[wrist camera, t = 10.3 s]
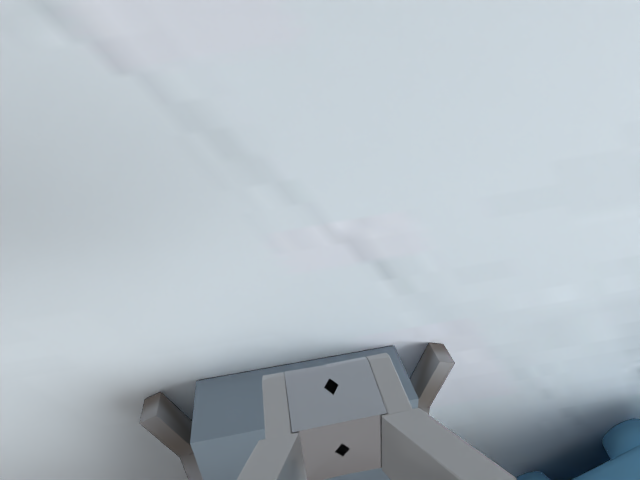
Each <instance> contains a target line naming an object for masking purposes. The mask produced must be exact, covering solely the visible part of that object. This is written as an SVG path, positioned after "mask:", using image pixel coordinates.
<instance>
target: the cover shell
mask: <svg viewBox="0 0 640 480" xmlns="http://www.w3.org/2000/svg"><path fill="white" fill-rule="evenodd" d="M382 353H387V354H388V355H389V356H390V358H391V360H392V363H393V365H394V367H395V370H396V372H397V374H398V376H399V379H400V381H401V383H402V386H403V388H404V390H405V393H406V395H407V397H408V399H409V402H410V404H411V406H412V409H415V408H418V400H419V398H418V396H417V394H416V392H415V390H414V388H413V385H412V383H411V381H410V379H409V377H408V375H407V372H406V370H405V368H404V366H403V364H402V362H401V359H400V357H399V355H398V353H397V351H396V349H395V346H389V347H384V348H378V349H373V350H367V351H361V352H356V353H350V354H345V355H339V356H333V357H328V358H322V359H316V360H311V361H305V362H300V363H294V364H288V365H283V366H277V367H272V368H266V369H260V370H255V371H249V372H244V373H238V374H232V375H227V376H221V377H215V378H210V379H204V380H199V381H196V390H195V400H194V409H193V419H192V429H191V439H190V445H191V447H192V450H193V453H194V456H195V459H196V461H197V464H198V467H199V470H200V472H201V475H202V478H203V480H237V478H238V476H239V475H240V473H241V471H242V469H243V467H244V466H245V464H246V462H247V460H248V459H249V457H250V455H251V453H252V452H253V450H254V448H255V446H256V445H257V443H258V441H259V440H263V439H265V424H264V408H263V391H262V377H263V375H269V374H275V373H281V372H284V374H285V371H291V370H298V369H304V368H310V367H316V366H322V365H325V364H330V363H335V362H340V361H345V360H350V359H355V358H360V357H366V356H372V355H377V354H382ZM325 480H391V479H390V478H389V477H388V476H387V475H386V474H385V473H384V472H383V471H382V468H378V469H372V470H367V471H362V472H356V473H351V474H346V475H345V474H344V475H341V476H337V477H333V478H329V479H325Z"/></svg>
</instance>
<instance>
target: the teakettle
mask: <svg viewBox="0 0 640 480" xmlns="http://www.w3.org/2000/svg"><path fill="white" fill-rule="evenodd" d="M602 444H603V446H604V448H605V450H606V452H607V454H608V455H609V457H610V459H611V460H609V461H607V462H605V463H603V464H601V465H599V466H597V467H595V468H593V469H591V470H590V471H588V472H586V473H584V474H582V475H580V476H578V477H576V478H574V479H572V480H640V419H630V420H627V421H624V422H622V423H619V424H618V425H616V426H614V427H613V428H612V429H610V430H609V431H608V432H607V433H606V434H605V436H604V437H603V440H602ZM516 479H517V480H550V479H549V478H548V477H547V476H546V475H545V474H544V473H542V472H538V471H534V472H529V473H525V474H523V475H520V476H518V477H517V478H516Z"/></svg>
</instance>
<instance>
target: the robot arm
mask: <svg viewBox="0 0 640 480" xmlns="http://www.w3.org/2000/svg"><path fill="white" fill-rule="evenodd" d="M262 391H263V408H264V424H265V439H263V440H259V441H258V443H257V445H256V446H255V448H254V450H253V452H252V453H251V455H250V457H249V459H248V460H247V462H246V464H245V466H244V467H243V469H242V471H241V473H240V475H239V476H238V478H237V480H325V479H329V478H333V477H337V476H341V475H344V474H345V475H346V474H351V473H356V472H362V471H367V470H372V469H378V468H382V471H383V472H384V473H385V474H386V475H387V476H388V477H389V478H390V479H391V480H517V479H516V477H514V476H513V475H511V474H510V473H509V472H507V471H506V470H505V469H503V468H502V467H500V466H499V465H498V464H496V463H495V462H493V461H492V460H491V459H489V458H488V457H486V456H485V455H484V454H482V453H481V452H480V451H478V450H477V449H475V448H474V447H473V446H471V445H470V444H468V443H467V442H466V441H464V440H463V439H461V438H460V437H459V436H457V435H456V434H455V433H453V432H452V431H450V430H449V429H448V428H446V427H445V426H443V425H442V424H441V423H439V422H438V421H436V420H435V419H434V418H432V417H431V416H430V415H428V414H427V413H425V412H424V411H423V410H421V409H420V408H415V409H412V406H411V404H410V402H409V399H408V397H407V395H406V393H405V390H404V388H403V386H402V383H401V381H400V379H399V376H398V374H397V372H396V370H395V367H394V365H393V363H392V360H391V358H390V356H389V355H388V354H387V353H382V354H377V355H372V356H366V357H360V358H355V359H350V360H345V361H340V362H335V363H330V364H325V365H322V366H316V367H310V368H304V369H298V370H291V371H285V374H284V372H281V373H275V374H269V375H263V377H262Z"/></svg>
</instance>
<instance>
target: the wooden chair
mask: <svg viewBox="0 0 640 480" xmlns="http://www.w3.org/2000/svg"><path fill="white" fill-rule="evenodd" d="M454 364H455V362H454V361H453V359H452V357H451V356H450V354H449V353H448V351H447V349H446V348H445V346H444V344H435V343H429V344H428V346H427V348H426V349H425V351H424V353H423V355H422V357H421V359H420V361H419V363H418V365H417V367H416V369H415V371H414V372H413V374H412V376H411V378H410V381H411V383H412V385H413V388H414V390H415V392H416V394H417V396H418V398H419V400H418V408H420V409H421V410H423V411H424V412H425V413H427V414H428V415H429V409H430V406H431V404H432V402H433V400H434V399H435V397H436V395H437V393H438V392H439V390H440V388H441V386H442V385H443V383H444V381H445V380H446V378H447V376H448V374H449V373H450V371H451V369H452V367H453V366H454ZM139 423H140V424H141V425H142V426H143V427H144V428H146V429H147V430H148V431H149V432H150V433H151V434H153V435H154V436H155V437H156V438H157V439H159V440H160V441H161V442H162V443H163V444H164V445H166V446H167V447H168V448H169V449H170V450H172V451H173V452H174V453H175V454H176V455H177V456H179V457H180V459H181V462H182V464H183V467H184V469H185V472H186V474H187V477H188V479H189V480H203V478H202V475H201V472H200V470H199V467H198V464H197V461H196V459H195V456H194V453H193V450H192V447H191V445H190V439H191V429H192V421H191V420H190V419H189V418H188V417H187V416H186V415H185V414H184V413H182V412H181V411H180V410H179V409H178V408H177V407H176V406H175V405H174V404H173V403H172V402H171V401H170V400H169V399H168V398H167V397H166V396H165V395H164V394H162V393H161V392H159V393H157V394H155V395H153V396H151V397H149V398H147V399H145V400H144V405H143V409H142V414H141V418H140V422H139Z"/></svg>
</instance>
